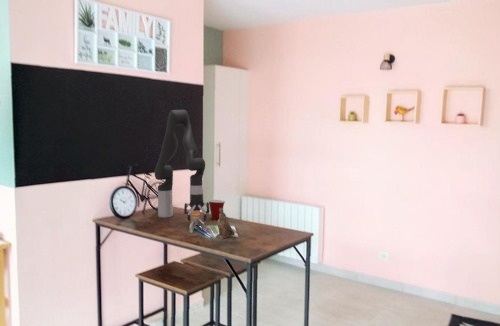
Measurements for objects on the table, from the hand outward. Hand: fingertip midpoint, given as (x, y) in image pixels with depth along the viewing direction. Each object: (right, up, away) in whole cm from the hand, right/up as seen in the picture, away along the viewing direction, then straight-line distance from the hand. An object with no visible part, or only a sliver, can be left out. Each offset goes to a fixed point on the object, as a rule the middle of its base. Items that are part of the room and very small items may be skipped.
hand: (197, 220), depth 245 cm
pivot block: (-2, -3, +11) cm, 11 cm away
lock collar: (-2, -3, +10) cm, 11 cm away
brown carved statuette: (+17, -6, -15) cm, 24 cm away
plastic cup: (+9, -2, +25) cm, 27 cm away
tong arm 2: (+3, -4, 0) cm, 5 cm away
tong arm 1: (-2, -4, -1) cm, 5 cm away
